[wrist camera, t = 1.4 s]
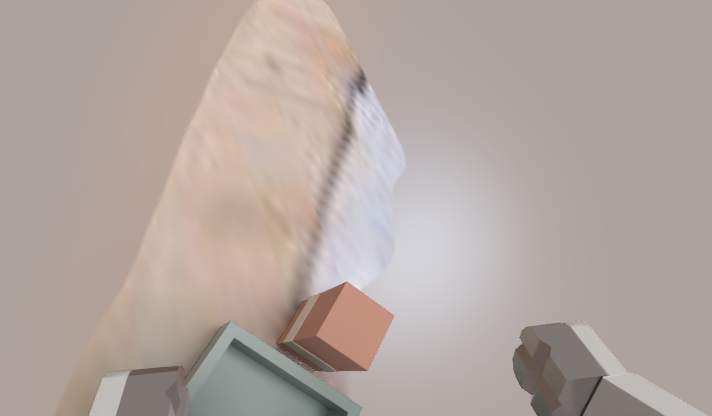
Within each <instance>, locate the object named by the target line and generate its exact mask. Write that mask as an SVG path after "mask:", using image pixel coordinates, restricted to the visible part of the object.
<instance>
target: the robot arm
mask: <svg viewBox="0 0 712 416" xmlns="http://www.w3.org/2000/svg"><path fill="white" fill-rule="evenodd" d="M520 339H521V341H522V342H523V343H522V344H521V345H520V346H519V347H518V348H517V349H516V350H515V352H514V356H513V369H514V373H515V375H516V378H517V380H518V382H519V384H520V386H521V388H523V389H524V390H525V391H527V392H528V393H530V394H531V395H532V396H531V406H532V407H533V409H534V411H535V413H536V415H537V416H708V415H706V414H704V413H703V412H701V411H699V410H697V409H696V408H694V407H692V406H691V405H689V404H687V403H685V402H684V401H682V400H680V399H678V398H676V397H675V396H673V395H671V394H670V393H668V392H666V391H664V390H663V389H661V388H659V387H658V386H656V385H654V384H652V383H651V382H649V381H647V380H645V379H644V378H642V377H640V376H639V375H637V374H635V373H627V371H626V370H625V369H624V368H623V367H622V365H621V364H620V363H619V362H618V360H617V359H616V358H615V357H614V356H613V354H612V353H611V352H610V351H609V350H608V348H607V347H606V346H605V345H604V343H603V342H602V341H601V340H600V339H599V337H598V336H597V335H596V334H595V333H594V331H593V330H592V329H591V328H590V326H589V325H588V324H587V323H585V322H583V321H575V322H566V323H554V324H546V325H538V326H530V327H526V328H524V329H523V330H522V332H521V335H520ZM184 379H185V374H184V370H183V367H182V366H172V367H160V368H149V369H137V370H127V371H117V372H107V373H106V374H105V376H104V377H103V378H102V380H101V382H100V385H99V387H98V390H97V393H96V396H95V398H94V401H93V404H92V407H91V409H90V412H89V415H88V416H191V401H190V394H189V389H188V388H187V387H185V386H183V385H184Z"/></svg>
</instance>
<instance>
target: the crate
mask: <svg viewBox="0 0 712 416" xmlns="http://www.w3.org/2000/svg"><path fill="white" fill-rule="evenodd" d="M183 386H185V387H187V388H188V389H189V394H190V401H191V416H359V414H360V412H361V410H362V407H361V406H360V405H358V404H357V403H355V402H353V401H352V400H351V399H349V398H348V397H346V396H345V395H343V394H342V393H340V392H339V391H337V390H336V389H334V388H332V387H331V386H329V385H328V384H326V383H325V382H323V381H322V380H320V379H319V378H317V377H316V376H314V375H313V374H311V373H310V372H308V371H307V370H305V369H304V368H302V367H301V366H299V365H298V364H296V363H295V362H293V361H292V360H290V359H289V358H287V357H286V356H284V355H283V354H281V353H280V352H278V351H277V350H275V349H274V348H272V347H270V346H269V345H267V344H266V343H264V342H263V341H261V340H260V339H258V338H257V337H255V336H254V335H252V334H251V333H249V332H248V331H246V330H245V329H243V328H242V327H240V326H239V325H237V324H236V323H234V322H233V321H230V322H228V323H227V324H225V325H223V326H222V327H221V328H220V329H219V331H218V332H217V333H216V335H215V336H214V338H213V339H212V341H211V342H210V344H209V345H208V346H207V348H206V349H205V351H204V352H203V354H202V355H201V356H200V358H199V359H198V361H197V362H196V364H195V365H194V366H193V368H192V369H191V371H190V372H189V374H188V375H187V377H186V378H185V379H184V385H183Z"/></svg>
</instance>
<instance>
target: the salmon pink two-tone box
mask: <svg viewBox="0 0 712 416" xmlns="http://www.w3.org/2000/svg"><path fill="white" fill-rule="evenodd" d="M393 318H394V315H393V314H392V313H390V312H389V311H387V310H386V309H385V308H383V307H382V306H380V305H379V304H378V303H376V302H375V301H373V300H372V299H370V298H369V297H368V296H366V295H365V294H364V293H362V292H361V291H359V290H358V289H357V288H355V287H354V286H352V285H351V284H350V283H348V282H345V283H343V284H341V285H338V286H336V287H334V288H332V289H329V290H327V291H325V292H323V293H319V294H317V295H314V296H312V297H310V298H309V299H307V300H305V301H303V302H302V303H301V305H300V307H299V308H298V310H297V312H296V313H295V315H294V317H293V318H292V320H291V321H290V323H289V325H288V326H287V328H286V330H285V331H284V333H283V334H282V336H281V338H280V339H279V341H278V343H277V345H279V346H280V347H282V348H283V349H285V350H287V351H288V352H290V353H291V354H293V355H294V356H296V357H297V358H299V359H300V360H302V361H303V362H305V363H306V364H308V365H309V366H311V367H312V368H314V369H315V370H317V371H326V372H337V371H368V369H369V367H370V365H371V363H372V361H373V359H374V357H375V355H376V353H377V351H378V349H379V347H380V344H381V343H382V340H383V338H384V336H385V334H386V332H387V330H388V328H389V326H390V324H391V322H392V320H393Z"/></svg>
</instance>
